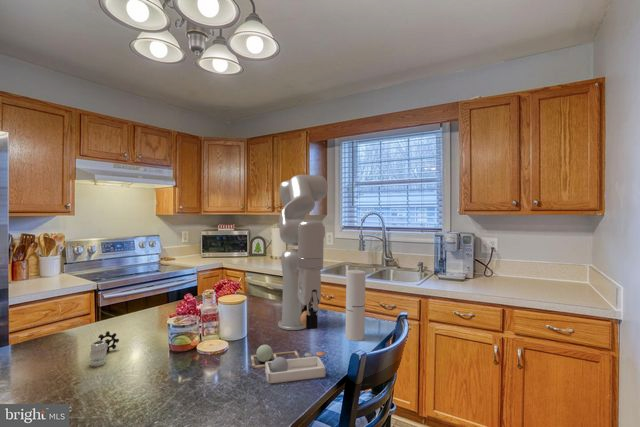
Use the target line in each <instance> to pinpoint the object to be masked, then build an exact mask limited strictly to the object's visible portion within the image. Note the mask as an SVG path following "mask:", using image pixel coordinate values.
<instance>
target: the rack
mask: <svg viewBox="0 0 640 427" xmlns="http://www.w3.org/2000/svg"><path fill="white" fill-rule="evenodd" d="M284 355H295V358H296V359H297V358H301V357H300V354H299V353H298V351H297V350H293V351H282V352H273V354H272V357H273V360H274V359H275V358H277V357H278V356H284ZM255 358H257V356H256V354H252V355H250V361H251V366H252V369H259V368H260V369H261V368H265V363H264V364H256V362H255Z"/></svg>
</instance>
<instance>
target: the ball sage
mask: <svg viewBox="0 0 640 427" xmlns="http://www.w3.org/2000/svg"><path fill="white" fill-rule="evenodd" d="M273 353H274V351H273V349H272V347H271V346H270V345H268V344H261V345H260V346H259V347H258V348H257V349H256V353H255V355H256V356H257V357H256V358H257V360H258V361H259V362H262V363H265V362H268V361H270V360H271V359H272V357H273V356H272V354H273Z"/></svg>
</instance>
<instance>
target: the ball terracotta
mask: <svg viewBox="0 0 640 427" xmlns="http://www.w3.org/2000/svg"><path fill="white" fill-rule="evenodd" d="M306 315H308V314H307V310H306V311H304V312H303V313H302V315H301V323H302V324H303V325H304V326H305V327H306Z"/></svg>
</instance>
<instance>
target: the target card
mask: <svg viewBox="0 0 640 427" xmlns="http://www.w3.org/2000/svg"><path fill="white" fill-rule="evenodd" d="M315 355H316V356H318V357H319V356H321V357H323V356H325V355H326V353H325V352H324V351H317V352H316V354H315ZM304 356H305V358H306V357H314V353H313V352H305V353H304Z"/></svg>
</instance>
